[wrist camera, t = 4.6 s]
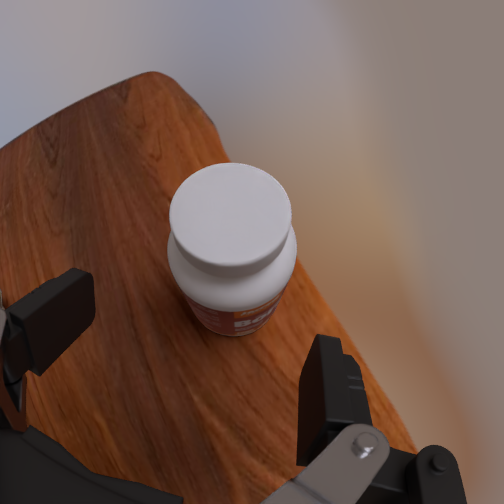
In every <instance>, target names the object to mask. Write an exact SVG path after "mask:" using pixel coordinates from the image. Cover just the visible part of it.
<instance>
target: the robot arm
mask: <svg viewBox="0 0 504 504" xmlns="http://www.w3.org/2000/svg"><path fill="white" fill-rule="evenodd" d="M94 317H95V297H94V281H93V276H92V274H91V273H88V272H85V271H82V270H79V269H77V268H72V269H70V270H68V271H67V272H65V273H64V274H62V275H61V276H59V277H57V278H54V279H51V280H48V281H46V282H45V283H43V284H42V285H40V286H39V288H36V289H34V290H33V291H31V293H28V294H27V295H26V296H24V297H23V298H21V299H20V300H18V301H17V302H15V303H14V304H13V305H11V306H10V307H8V308H7V309H6V310H3V309H2V308H0V504H183V497H179V496H176V495H173V494H170V493H167V492H164V491H161V490H158V489H155V488H152V487H149V486H147V485H144V484H141V483H139V482H133V481H127V480H122V479H117V478H113V477H108V476H104V475H100V474H96V473H93V472H91V471H90V470H88V469H87V468H86V467H85V466H84V465H83V464H81V463H80V462H79V461H78V460H77V459H76V458H75V457H74V456H72V455H71V454H70V453H69V452H68V451H67V450H66V449H65V448H64V447H63V446H62V445H61V444H59V443H58V442H56V441H54V440H53V439H51V438H50V437H48V436H47V435H45V434H43V433H42V432H40V431H39V430H37V429H36V428H34V427H33V426H32V425H30V426H29V427H27V422H26V389H27V377H26V374H25V373H26V372H27V371H28V370H30V371H32V372H33V373H35V374H37V375H38V376H41V375H42V374H43V373H44V372H45V371H46V370H47V369H48V368H49V366H50V365H51V364H52V363H53V362H54V361H55V360H56V359H57V358H58V357H59V356H60V355H61V354H62V353H63V352H64V351H65V350H66V349H67V348H68V347H69V346H70V345H71V344H72V343H73V342H74V341H75V340H76V339H77V338H78V337H79V336H80V335H81V334H82V333H83V332H84V331H85V330H86V329H87V328H88V327H89V326H90V325H91V324H92V322H93V320H94ZM364 388H365V387H364V383H363V381H362V374H361V370H360V366H359V365H358V364H357V362H356V361H355V360H354V358H353V357H352V356H351V355H346V354H343V351H342V346H341V341H340V338H336V337H331V336H326V335H320V334H317V335H316V336H315V338H314V341H313V343H312V346H311V349H310V351H309V354H308V356H307V359H306V361H305V364H304V366H303V369H302V372H301V375H300V380H299V402H298V437H297V460H296V466H306V468H305V469H304V470H303V471H302V472H301V473H300V474H298V475H297V476H296V477H295V478H291V479H290V480H288V481H287V482H286V483H284V484H283V485H282V486H281V487H280V488H278V489H277V490H276V491H275V492H274V493H272V494H271V495H270V496H269V497H267V498H266V499H265V500H264V501H262V502H261V503H260V504H467V502H466V497H465V492H464V488H463V484H462V479H461V476H460V472H459V468H458V464H457V461H456V459H455V457H454V456H453V454H452V453H451V452H450V451H448V450H447V449H446V448H444V447H442V446H438V445H430V446H427V447H425V448H423V449H422V450H421V451H420V452H419V453H418V454H417V455H416V454H412V453H408V452H404V451H401V450H397V449H394V448H392V447H390V446H389V442H388V440H387V438H386V437H385V435H384V434H383V433H382V432H381V431H379V430H378V429H377V428H375V427H373V425H372V420H371V415H370V410H369V405H368V401H367V396H366V392H365V390H364Z"/></svg>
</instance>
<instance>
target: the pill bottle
mask: <svg viewBox="0 0 504 504" xmlns="http://www.w3.org/2000/svg"><path fill="white" fill-rule="evenodd" d="M291 214H292V211H291V205H290V201H289V199H288V195H287V194H286V192H285V191H284V189H283V187H282V186H281V184H280V183H279V182H278V181H277V180H275V179H274V178H273V177H272V176H271V175H269V174H268V173H266V172H265V171H263V170H261V169H259V168H256V167H253V166H250V165H246V164H240V163H222V164H216V165H212V166H209V167H206V168H203V169H201V170H199V171H197V172H196V173H194V174H193V175H191V176H190V177H188V178H187V179H186V180H185V181H184V182H183V183H182V184H181V185H180V187H179V188H178V190H177V191H176V193H175V195H174V197H173V199H172V202H171V205H170V211H169V219H170V227H171V232H170V235H169V240H168V261H169V265H170V269H171V271H172V274H173V276H174V278H175V280H176V282H177V284H178V286H179V288H180V290H181V291H182V293H183V295H184V297H185V298H186V300H187V302H188V304H189V306H190V307H191V309H192V311H193V312H194V314H195V316H196V317H197V318H198V320H199V321H200V322H201V323H202V324H203V325H204V326H205V327H207V328H208V329H210V330H212V331H213V332H216V333H218V334H222V335H226V336H242V335H246V334H249V333H252V332H254V331H256V330H258V329H259V328H261V327H262V326H263V325H264V324H265V323H266V322H267V321H268V320H269V319H270V317H271V316H272V314H273V313H274V311H275V309H276V307H277V305H278V303H279V301H280V298H281V296H282V294H283V292H284V290H285V288H286V286H287V284H288V281H289V279H290V277H291V275H292V272H293V269H294V265H295V261H296V255H297V245H296V244H297V243H296V237H295V233H294V230H293V227H292V225H291V217H292V215H291Z"/></svg>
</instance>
